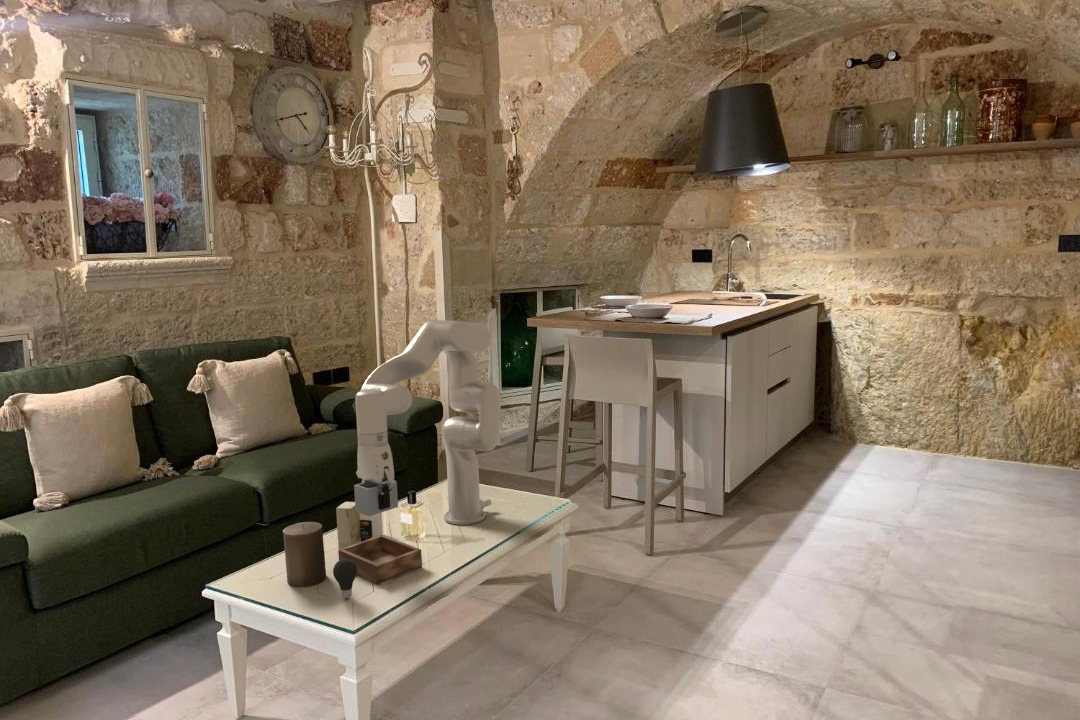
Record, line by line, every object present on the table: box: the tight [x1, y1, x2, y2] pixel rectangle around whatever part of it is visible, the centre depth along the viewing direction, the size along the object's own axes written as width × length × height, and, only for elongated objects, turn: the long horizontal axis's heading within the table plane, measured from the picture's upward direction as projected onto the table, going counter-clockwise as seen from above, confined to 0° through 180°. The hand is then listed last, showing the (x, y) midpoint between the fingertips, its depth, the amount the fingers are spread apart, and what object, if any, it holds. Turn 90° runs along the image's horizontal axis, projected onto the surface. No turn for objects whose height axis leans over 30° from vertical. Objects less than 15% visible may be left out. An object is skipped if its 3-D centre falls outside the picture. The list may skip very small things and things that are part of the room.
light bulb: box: [332, 559, 357, 601], centre depth 199 cm, size 6×6×10 cm
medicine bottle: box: [353, 499, 384, 542], centre depth 239 cm, size 7×7×12 cm
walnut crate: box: [337, 534, 423, 586], centre depth 218 cm, size 14×17×5 cm
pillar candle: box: [282, 521, 327, 587], centre depth 211 cm, size 10×10×15 cm
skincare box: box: [335, 501, 361, 550], centre depth 233 cm, size 6×4×12 cm
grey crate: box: [353, 479, 399, 516], centre depth 215 cm, size 9×6×7 cm, turn 137°
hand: (376, 505), depth 215 cm, fingers closed on grey crate, 6 cm apart
